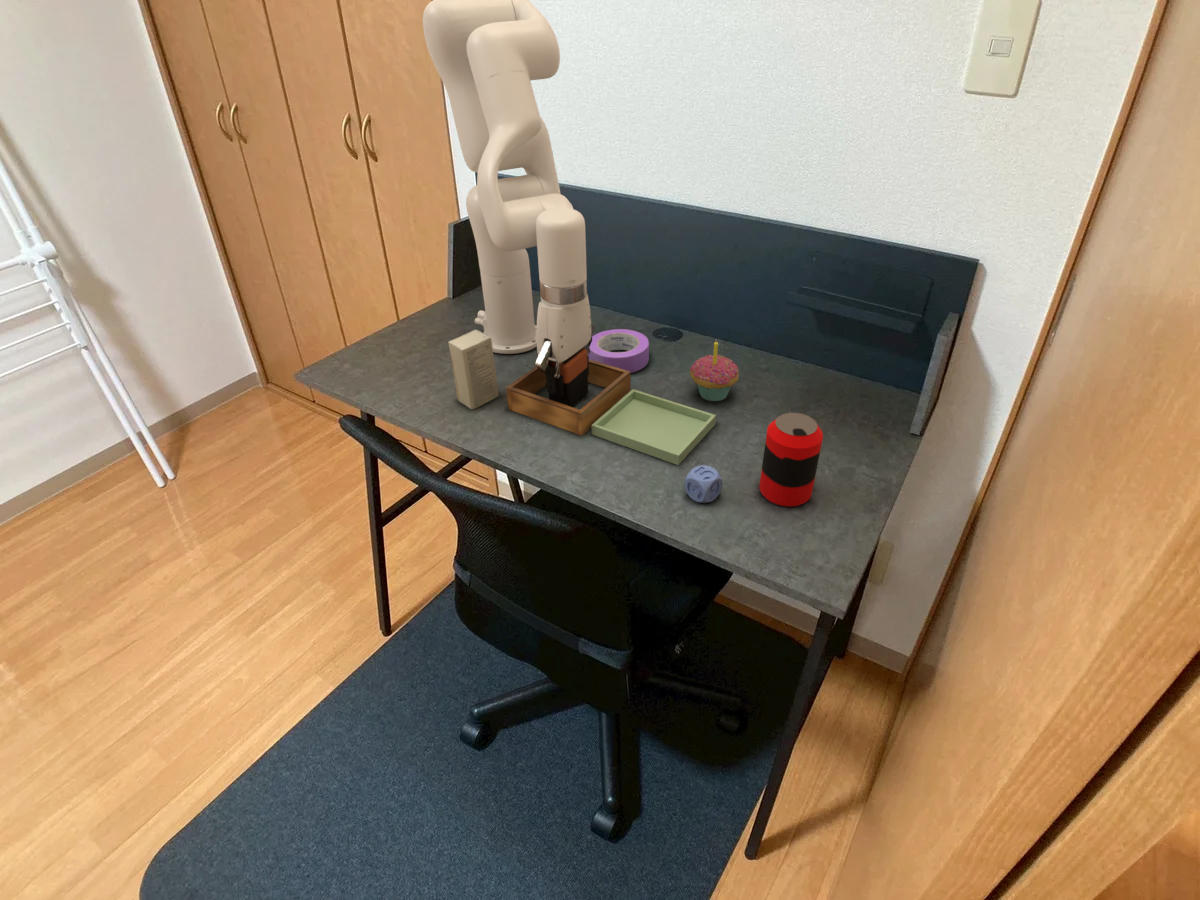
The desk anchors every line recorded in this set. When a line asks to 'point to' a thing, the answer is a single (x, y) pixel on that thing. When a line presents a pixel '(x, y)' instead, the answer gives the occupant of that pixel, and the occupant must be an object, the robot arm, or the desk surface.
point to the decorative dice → (703, 484)
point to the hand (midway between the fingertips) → (568, 383)
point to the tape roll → (620, 340)
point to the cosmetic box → (474, 368)
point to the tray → (654, 426)
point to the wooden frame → (563, 415)
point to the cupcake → (714, 375)
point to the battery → (573, 379)
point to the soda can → (790, 459)
